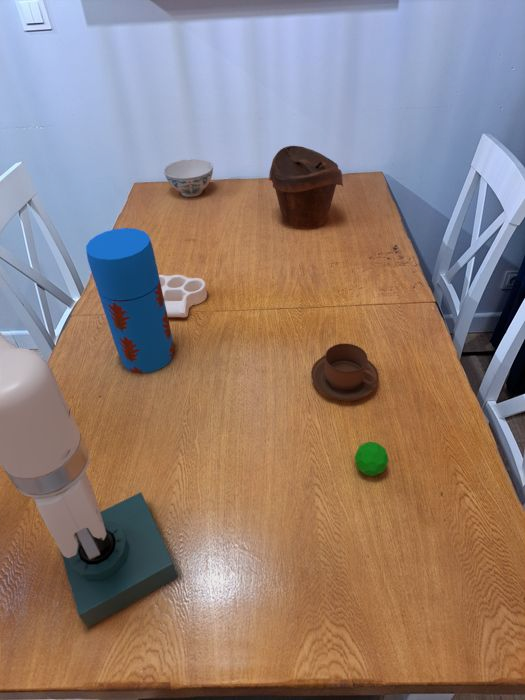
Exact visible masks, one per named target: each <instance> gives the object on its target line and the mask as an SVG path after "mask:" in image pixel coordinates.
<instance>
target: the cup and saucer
mask: <svg viewBox="0 0 525 700" xmlns="http://www.w3.org/2000/svg"><path fill="white" fill-rule="evenodd" d="M310 374H311V376H310V377H311V380H312V383H313V385H314V386H315V388H316V389H317V390H318V391H319V392H320V393H322V394H323V395H325V396H326V397H328V398H331V399H333V400H337V401H346V402H347V401H357V400H361V399H364V398H365V397H367V396H369V395H370V394H372V393H373V392H374V390H375V389H376V387H378V383H379V378H380V376H379V371H378V369H377V367H376V366H375V365H374V364H373V363H372V362H371V361H370V360H369V358H368V354H367V353H366V351H365V350H364V349H363V348H362V347H360V346H358V345H356V344H354V343H337V344H334V345H332V346H330V347H328V349H327V350H326V351H325V355H323V356H321V357H320V358H318V359H317V360H316V361H315V363H314V364H313V366H312V368H311V373H310Z"/></svg>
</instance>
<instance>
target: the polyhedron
mask: <svg viewBox="0 0 525 700" xmlns="http://www.w3.org/2000/svg"><path fill="white" fill-rule="evenodd" d="M354 460H355V465H356V468H357V469H358V470H359V471H360V472H361V473H363V474H364V475H366V476H370V477H375V476H377V475H379V474H381V473H383V472H384V471H385V470H386V468H387V466H388V464H389V461H390V459H389V456H388V453H387V450H386V448H385V447H384V446H383V445H381V444H380V443H378V442H375V441H367V442H365V443H363V444H360V445H359V446H358V449H357V450H356V453H355V455H354Z"/></svg>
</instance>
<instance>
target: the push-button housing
mask: <svg viewBox="0 0 525 700" xmlns="http://www.w3.org/2000/svg"><path fill="white" fill-rule="evenodd" d="M100 513H101V516H102V520H103V523H104V527H105V529H106V531H107V532H108V533H110V534H111V536H112V538H113V540H114V542H115V549H114V552H113V553H112V554H111V555H110V556H109V558H108V559H107V560H105V561H103V562H101V563H99V564H87V563H86V561H85V560H84V558H83V557H82V555H81V551H80V549H81V547H80V546H79V544H78V549H77V554H76V555H75V556H72V557H70V558H67V557H65V556H63V554H62V552H61V551H60V555H61V557H62V561H63V565H64V569H65V572H66V575H67V580H68V583H69V587H70V590H71V594H72V597H73V601H74V603H75V605H74V606H75V608H76V612H77V615H78V617H79V618H80V620H81V621H82V623H83V624H84V625H85V626H86V627H87V629H89V628H91V627H93V626H94V625H96V624H98V623H100V622H101V621H104V620H105V619H107V618H108V617H111V616H112V615H114V614H116V613H117V612H119V611H121V610H123V609H124V608H126V607H128V606H130V605H131V604H133V603H135V602H137V601H139V600H140V599H142V598H143V597H145V596H147V595H149V594H151V593H153V592H155V591H156V590H158V589H159V588H161V587H163V586H165V585H167V584H169V583H171V582H172V581H175V579H178V577H179V576H178V572H177V569H176V567H175V564H174V562H173V559H172V557H171V555H170V552H169V550H168V549H167V546H166V544H165V541H164V540H163V536H162V535H161V533H160V530H159V529H158V526H157V524H156V522H155V519H154V517H153V515H152V513H151V511H150V508H149V506H148V504H147V502H146V499H145V497H144V495H143V492H142V491H140V492H137V493H136V494H134V495H131V496H130V497H127V498H125V499H124V500H122V501H120V502H118V503H116V504H113V505H111V506H110V507H108V508H105V509H103V510H100Z"/></svg>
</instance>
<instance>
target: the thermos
mask: <svg viewBox="0 0 525 700" xmlns="http://www.w3.org/2000/svg"><path fill="white" fill-rule="evenodd" d="M85 251H86V257H87V263H88V265H89V268H90V271H91V274H92V278H93V281H94V285H95V287H96V290H97V293H98V297H99V300H100V302H101V305H102V306H101V307H102V309H103V311H104V315H105V318H106V321H107V324H108V327H109V330H110V333H111V336H112V340H113V342H114V345H115V348H116V351H117V354H118V356H119V359H120V361H121V364H122V365H123V366H124V368H125V369H127V370H129V371H130V372H132V373H138V374H146V373H147V374H148V373H152V372H155V371H159V370H161V369H163V368H164V367H165V366H167V365H168V364H169V363H170V362H172V360H173V358H174V355H175V347H174V339H173V333H172V330H171V325H170V321H169V317H168V315H167V311H166V306H165V302H164V297H163V292H162V288H161V283H160V279H159V275H160V274H159V271H158V266H157V261H156V255H155V252H154V251H155V250H154V248H153V243H152V240H151V238H150V235H149V234H148V233H147V232H146V231H144V230H142V229H138V228H133V227H132V228H131V227H121V228H115V229H110V230H106V231H104V232H102V233H99V234H96V235H95V236H93V237H92V238H91V239H90V240H89V241H88V243H86V245H85Z"/></svg>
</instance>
